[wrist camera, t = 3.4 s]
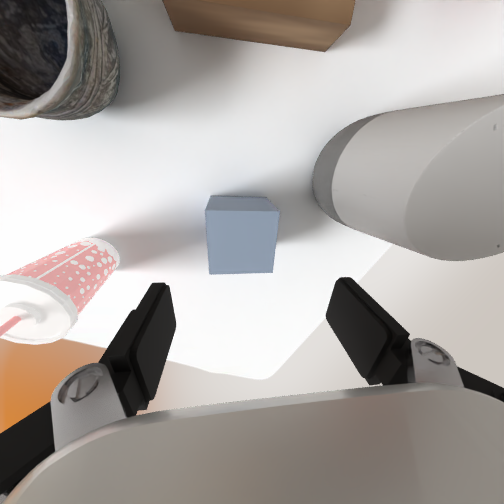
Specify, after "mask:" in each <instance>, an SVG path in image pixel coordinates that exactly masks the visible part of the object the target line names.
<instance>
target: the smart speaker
mask: <svg viewBox="0 0 504 504" xmlns="http://www.w3.org/2000/svg"><path fill="white" fill-rule="evenodd" d="M312 186H313V192H314V195H315V198H316V200H317V202H318V204H319V206H320V207H321V208H322V209H323V211H324V212H325V213H326V214H327V215H329V216H330V217H331V218H333V219H334V220H336V221H337V222H339V223H341V224H343V225H346V226H348V227H350V228H352V229H355V230H357V231H360V232H363V233H366V234H368V235H371V236H374V237H376V238H379V239H382V240H385V241H387V242H390V243H393V244H396V245H398V246H401V247H404V248H406V249H409V250H412V251H415V252H417V253H420V254H423V255H426V256H429V257H431V258H435V259H440V260H447V261H465V260H474V259H480V258H485V257H489V256H493V255H496V254H499V253H503V252H504V94H502V95H495V96H488V97H482V98H475V99H469V100H462V101H455V102H449V103H442V104H436V105H429V106H423V107H416V108H409V109H403V110H396V111H391V112H386V113H382V114H377V115H373V116H370V117H366V118H364V119H361V120H358V121H356V122H354V123H352V124H350V125H349V126H347V127H345V128H344V129H343V130H341V131H340V132H338V133H337V134H336V135H335V136H334V137H333V138H332V139H331V140H330V141H329V142H328V143H327V144H326V146H325V147H324V148H323V150H322V151H321V153H320V155H319V157H318V159H317V161H316V164H315V167H314V171H313V178H312Z"/></svg>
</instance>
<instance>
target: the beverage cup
mask: <svg viewBox="0 0 504 504" xmlns="http://www.w3.org/2000/svg"><path fill="white" fill-rule="evenodd" d="M119 261H120V257H119V255H118V252H117V250H116V249H115V248H114V247H113V246H112V245H111V244H109V243H107V242H106V241H104V240H102V239H98V238H94V237H92V238H83V239H81V240H79V241H77V242H75V243H73V244H71V245H68V246H66V247H64V248H62V249H60V250H58V251H56V252H54V253H52V254H49V255H47V256H45V257H43V258H41V259H39V260H37V261H35V262H33V263H30V264H28V265H26V266H24V267H22V268H20V269H18V270H16V271H14V272H11V273H9V274H7V275H0V338H2V339H6V340H9V341H12V342H16V343H25V344H34V345H36V344H44V343H52V342H54V341H57V340H59V339H61V338H63V337H65V336H66V335H67V333H68V332H69V331H70V329H71V328H72V327H73V326H74V324H75V323H76V322H77V320H78V315H79V313H80V312H81V311H82V310H83V308H84V307H85V306H86V305H87V303H88V302H89V301H90V300H91V299H92V297H93V296H94V295H95V294H96V292H97V291H98V290H99V289H100V288H101V286H102V285H103V284H104V283H105V281H106V280H107V279H108V278H109V276H110V275H111V274H112V273H113V272H114V270H115V269H116V268H117V266H118V265H119Z"/></svg>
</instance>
